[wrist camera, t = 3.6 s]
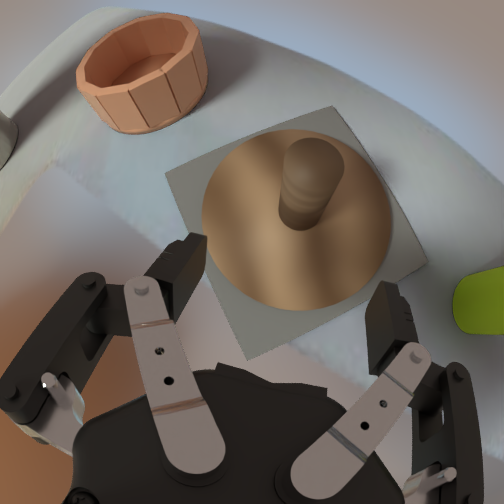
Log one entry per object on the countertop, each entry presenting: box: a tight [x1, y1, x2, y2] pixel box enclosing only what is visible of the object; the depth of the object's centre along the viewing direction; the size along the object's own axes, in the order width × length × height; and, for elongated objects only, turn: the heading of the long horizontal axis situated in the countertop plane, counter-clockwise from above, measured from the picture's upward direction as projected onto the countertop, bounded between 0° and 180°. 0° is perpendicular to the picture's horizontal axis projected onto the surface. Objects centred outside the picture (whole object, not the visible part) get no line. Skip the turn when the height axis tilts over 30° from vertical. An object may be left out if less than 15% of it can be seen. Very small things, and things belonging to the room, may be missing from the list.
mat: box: [165, 106, 428, 361], centre depth 25 cm, size 18×18×1 cm
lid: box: [201, 129, 391, 311], centre depth 21 cm, size 16×16×9 cm
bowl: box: [76, 13, 208, 135], centre depth 26 cm, size 13×13×7 cm
